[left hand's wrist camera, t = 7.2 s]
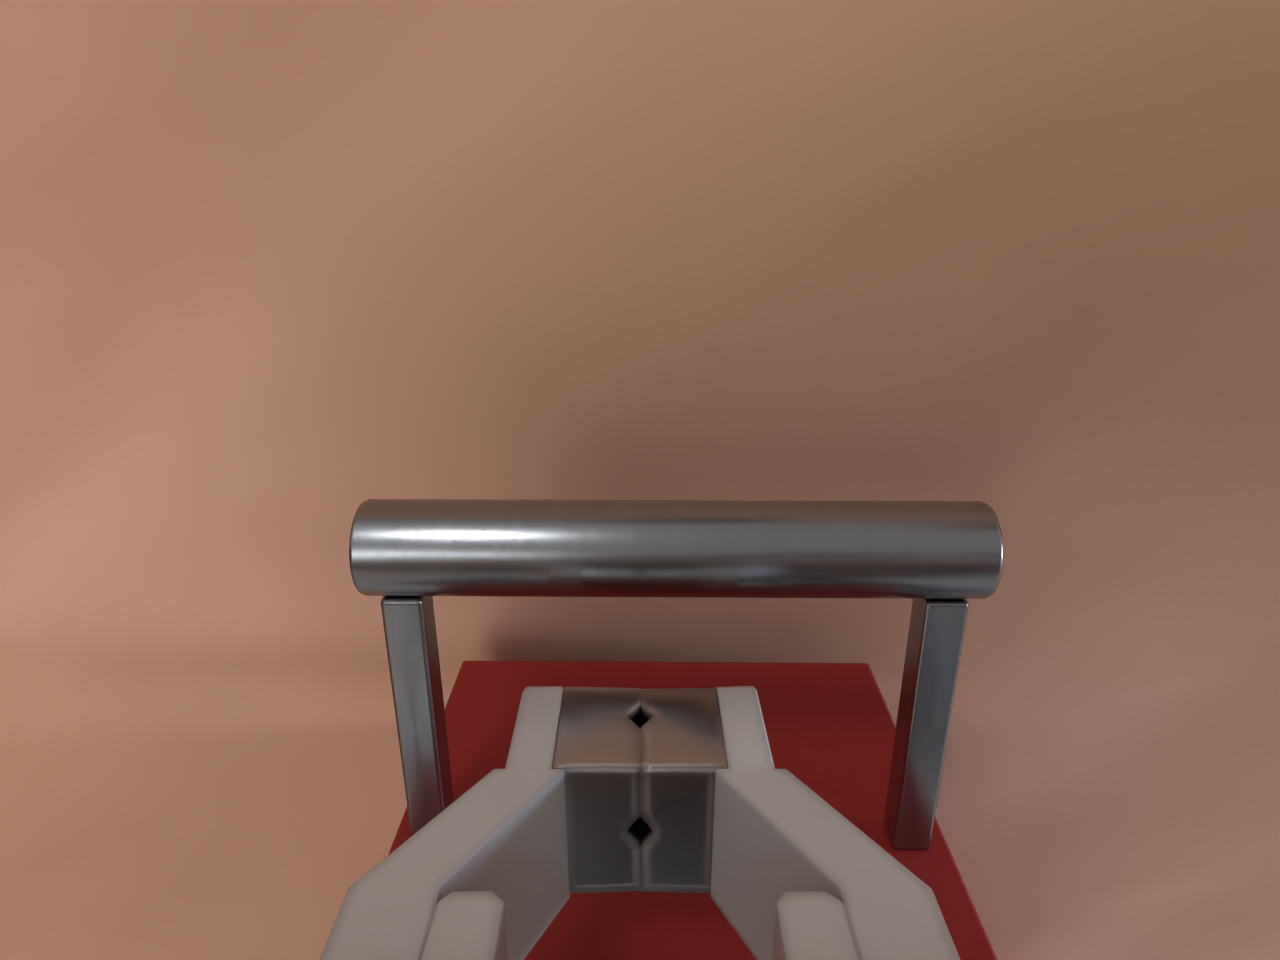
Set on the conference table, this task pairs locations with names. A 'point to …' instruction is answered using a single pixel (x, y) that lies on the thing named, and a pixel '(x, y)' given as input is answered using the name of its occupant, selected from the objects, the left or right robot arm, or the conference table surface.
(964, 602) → the drawer
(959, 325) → the conference table surface
